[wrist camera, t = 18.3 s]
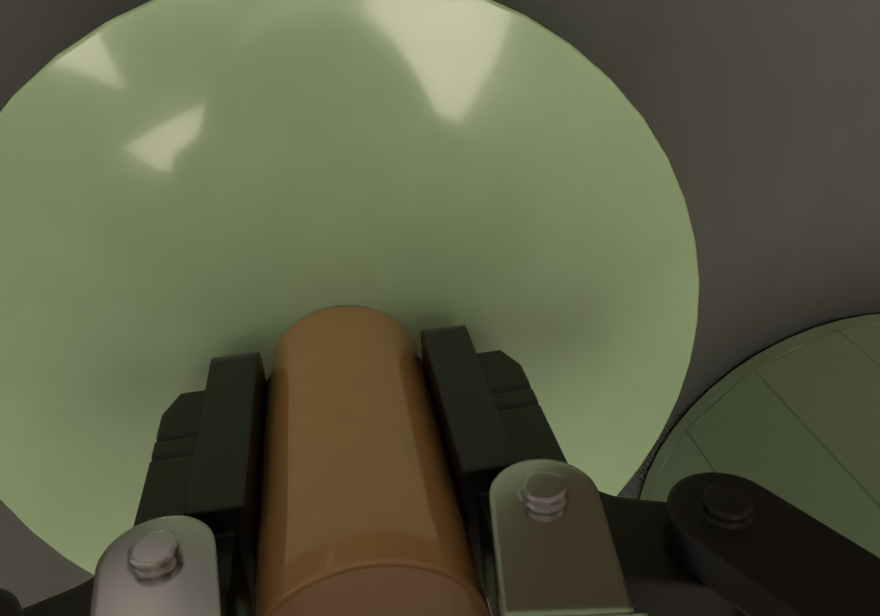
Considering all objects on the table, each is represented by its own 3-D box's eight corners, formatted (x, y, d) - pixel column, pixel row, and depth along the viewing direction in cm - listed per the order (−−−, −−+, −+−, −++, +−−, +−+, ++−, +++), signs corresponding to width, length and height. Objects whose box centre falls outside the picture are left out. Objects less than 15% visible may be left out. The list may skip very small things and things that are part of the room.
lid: (80, 632, 16) (-38, 1036, 11) (-189, -4, 10) (-817, 128, 4) (647, 537, 18) (816, 845, 12) (709, -72, 12) (1112, -37, 6)
